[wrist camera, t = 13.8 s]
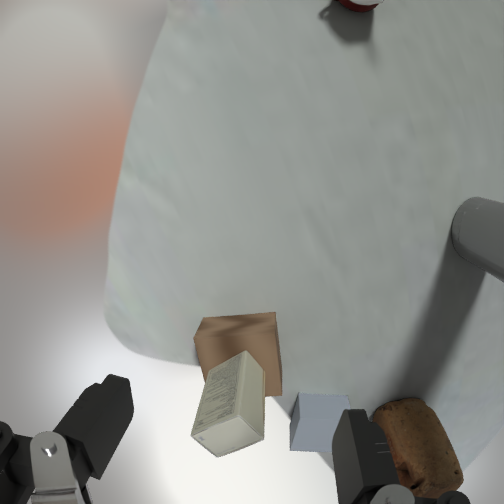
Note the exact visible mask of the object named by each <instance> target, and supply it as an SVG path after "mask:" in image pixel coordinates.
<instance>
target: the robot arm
mask: <svg viewBox="0 0 504 504" xmlns="http://www.w3.org/2000/svg"><path fill="white" fill-rule="evenodd" d="M452 240H453V244H454V247H455V249H456V251H457V252H458V254H459V255H460V256H462V257H463V258H465V259H466V260H468V261H470V262H471V263H473V264H475V265H476V266H478V267H480V268H481V269H483V270H484V271H486V272H488V273H489V274H491V275H493V276H494V277H496V278H497V279H499V280H501V281H502V282H504V203H501V202H497V201H493V200H489V199H485V198H480V197H474V198H471V199H468V200H467V201H465V202H464V203H463V204H462V205H461V206H460V208H459V209H458V211H457V212H456V215H455V217H454V220H453V224H452ZM133 413H134V406H133V399H132V393H131V387H130V381H129V379H127V378H124V377H120V376H116V375H113V374H109V375H108V376H107V377H106V378H105V379H104V381H103V382H102V383H101V384H98V383H94V384H93V385H91V386H89V387H88V388H86V389H85V390H84V391H83V393H82V394H81V395H80V396H79V399H77V400H76V402H75V403H74V405H73V406H72V407H71V408H70V409H69V411H68V412H67V413H66V414H65V416H64V417H63V418H62V420H61V421H60V422H59V424H58V425H57V426H56V428H55V429H54V430H53V431H52V432H50V431H46V432H41V433H39V434H37V435H36V436H35V437H34V438H32V437H26V436H21V435H17V434H14V433H13V432H12V430H11V428H10V426H9V425H8V424H6V423H4V422H1V421H0V504H27V502H28V500H29V498H30V496H31V502H32V504H93V501H92V498H91V495H90V492H89V489H88V485H87V481H88V479H89V477H90V476H91V477H93V478H96V479H98V480H100V479H101V477H102V474H103V473H104V471H105V469H106V467H107V465H108V463H109V461H110V459H111V458H112V456H113V454H114V452H115V450H116V448H117V446H118V445H119V443H120V441H121V439H122V437H123V435H124V433H125V431H126V430H127V428H128V426H129V424H130V422H131V420H132V417H133ZM332 455H333V462H334V470H335V478H336V486H337V493H338V502H339V504H470V501H469V499H468V497H467V496H466V495H464V494H463V493H462V492H459V491H453V490H452V491H447V492H445V493H443V494H442V495H441V496H440V497H439V498H438V499H436V498H424V497H417V496H413V494H412V492H411V491H410V490H409V489H407V488H406V487H404V486H401V484H400V481H399V477H398V474H397V471H396V467H395V464H394V461H393V457H392V454H391V453H390V448H389V445H388V444H387V438H386V435H385V432H384V431H383V429H382V428H381V427H380V426H379V425H378V424H377V423H376V422H369V421H368V417H367V414H366V411H365V410H364V409H345V410H344V411H343V413H342V415H341V418H340V420H339V423H338V425H337V428H336V430H335V433H334V435H333V439H332ZM34 489H35V493H33V491H34Z"/></svg>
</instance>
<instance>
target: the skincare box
mask: <svg viewBox="0 0 504 504" xmlns="http://www.w3.org/2000/svg"><path fill="white" fill-rule="evenodd" d="M264 420H265V371H264V370H263V369H262V368H261V366H260V365H259V364H258V363H257V362H256V360H255V359H254V358H253V357H252V356H251V355H250V353H249V352H248V351H243V352H242V353H240V354H238V355H236V356H234V357H232V358H231V359H229V360H227V361H225V362H223V363H221V364H220V365H218V366H216V367H214V368H213V369H211V370H209V372H208V376H207V379H206V383H205V386H204V390H203V393H202V397H201V400H200V404H199V407H198V411H197V414H196V418H195V422H194V425H193V429H192V432H191V437H193V438H194V439H195V440H196V441H197V442H198V443H199V444H201V445H202V446H203V447H204V448H206V449H207V450H208V451H209V452H211V453H212V454H213V455H215V456H216V457H221V456H223V455H227V454H230V453H232V452H235V451H238V450H240V449H243V448H245V447H248V446H250V445H253V444H255V443H257V442H260V441H261V440H264Z"/></svg>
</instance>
